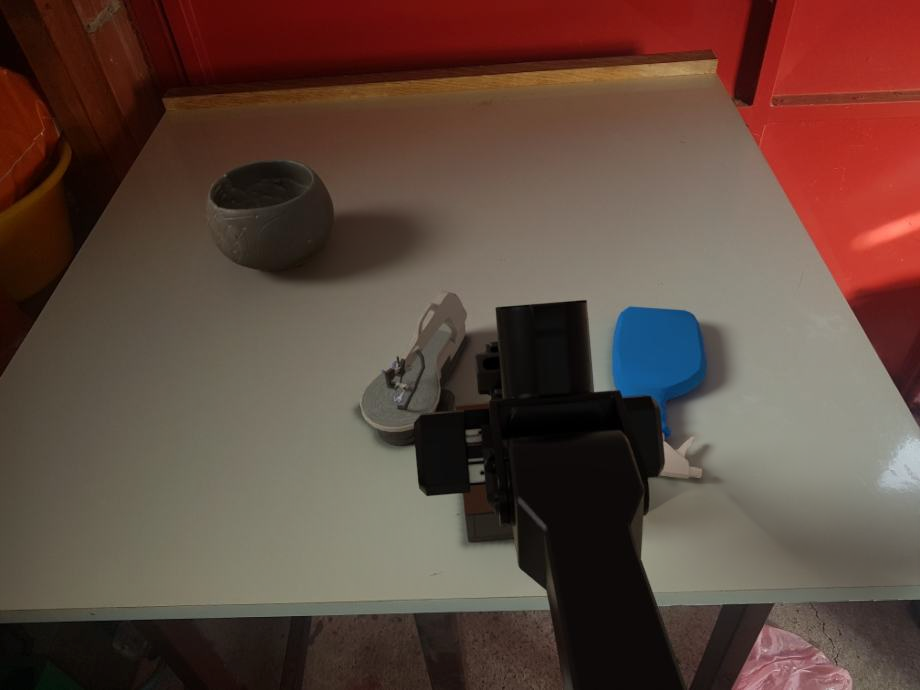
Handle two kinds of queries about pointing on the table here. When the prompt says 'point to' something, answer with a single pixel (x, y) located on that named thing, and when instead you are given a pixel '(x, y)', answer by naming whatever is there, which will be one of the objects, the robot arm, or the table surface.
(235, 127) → the table surface
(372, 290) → the table surface
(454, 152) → the table surface
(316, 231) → the bowl
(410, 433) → the scroll saw
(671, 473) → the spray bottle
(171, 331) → the table surface
